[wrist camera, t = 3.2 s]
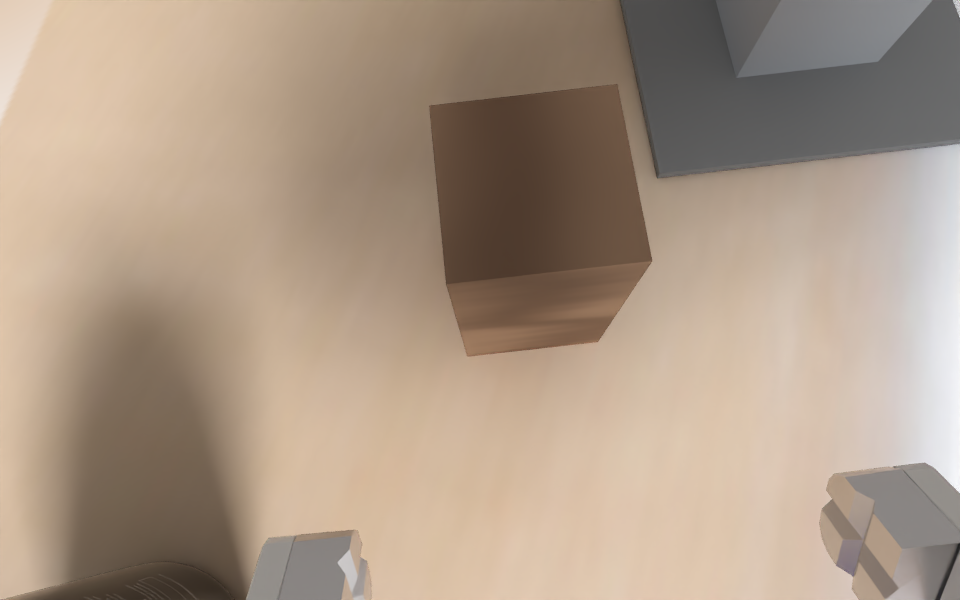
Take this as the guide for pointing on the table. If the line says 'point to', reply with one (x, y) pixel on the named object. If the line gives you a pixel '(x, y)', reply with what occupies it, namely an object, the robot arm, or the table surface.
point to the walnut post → (537, 217)
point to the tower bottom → (812, 32)
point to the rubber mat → (786, 94)
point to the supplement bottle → (138, 585)
